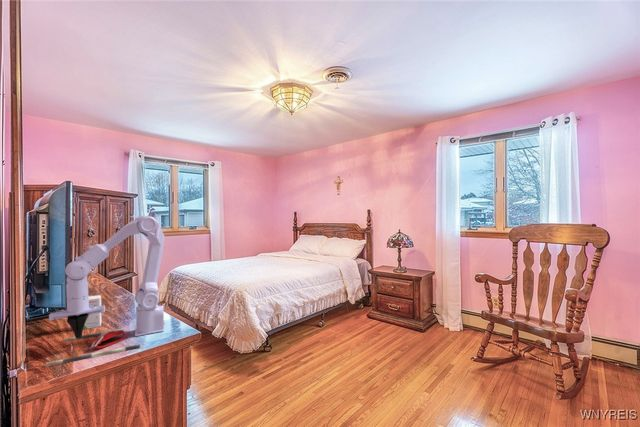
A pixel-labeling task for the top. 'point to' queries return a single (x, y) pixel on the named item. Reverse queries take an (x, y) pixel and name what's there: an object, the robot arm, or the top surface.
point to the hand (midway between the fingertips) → (78, 337)
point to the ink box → (94, 318)
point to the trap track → (90, 354)
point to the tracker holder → (107, 336)
